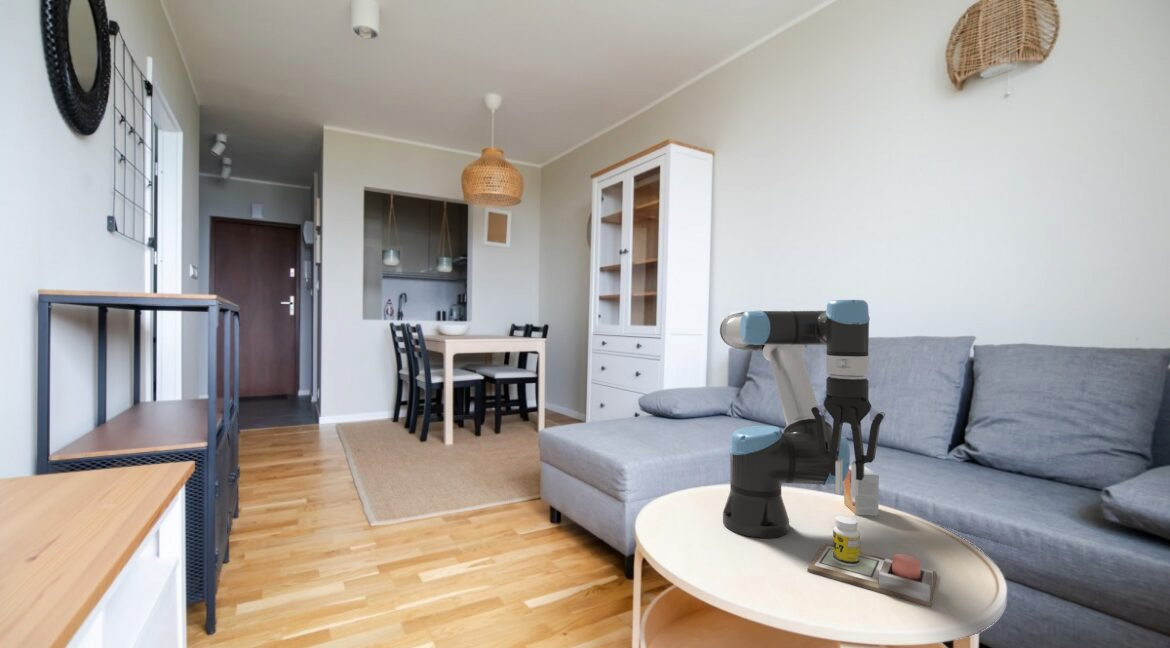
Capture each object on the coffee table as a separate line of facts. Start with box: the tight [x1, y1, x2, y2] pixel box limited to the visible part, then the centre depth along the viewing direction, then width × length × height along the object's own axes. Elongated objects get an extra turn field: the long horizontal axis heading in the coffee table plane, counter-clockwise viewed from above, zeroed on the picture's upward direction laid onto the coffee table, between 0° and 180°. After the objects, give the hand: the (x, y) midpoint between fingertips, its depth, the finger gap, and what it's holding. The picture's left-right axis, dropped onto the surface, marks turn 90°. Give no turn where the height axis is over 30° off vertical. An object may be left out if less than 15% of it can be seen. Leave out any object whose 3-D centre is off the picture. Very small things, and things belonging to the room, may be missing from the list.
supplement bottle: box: [832, 515, 861, 566], centre depth 102 cm, size 5×5×8 cm
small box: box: [843, 465, 880, 517], centre depth 132 cm, size 8×6×10 cm
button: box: [891, 553, 922, 582], centre depth 92 cm, size 4×4×3 cm
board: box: [806, 543, 938, 608], centre depth 99 cm, size 20×14×3 cm
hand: (846, 493), depth 102 cm, fingers open, 2 cm apart
